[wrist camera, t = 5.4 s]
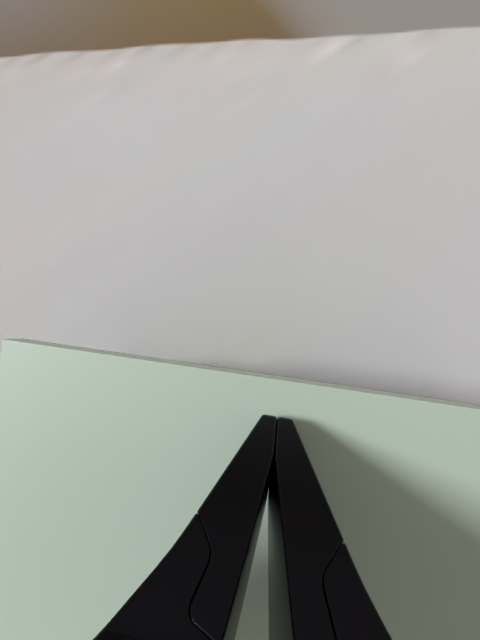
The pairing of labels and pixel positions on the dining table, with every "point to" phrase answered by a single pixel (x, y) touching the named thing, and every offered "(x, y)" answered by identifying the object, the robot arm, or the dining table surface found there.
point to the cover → (203, 473)
